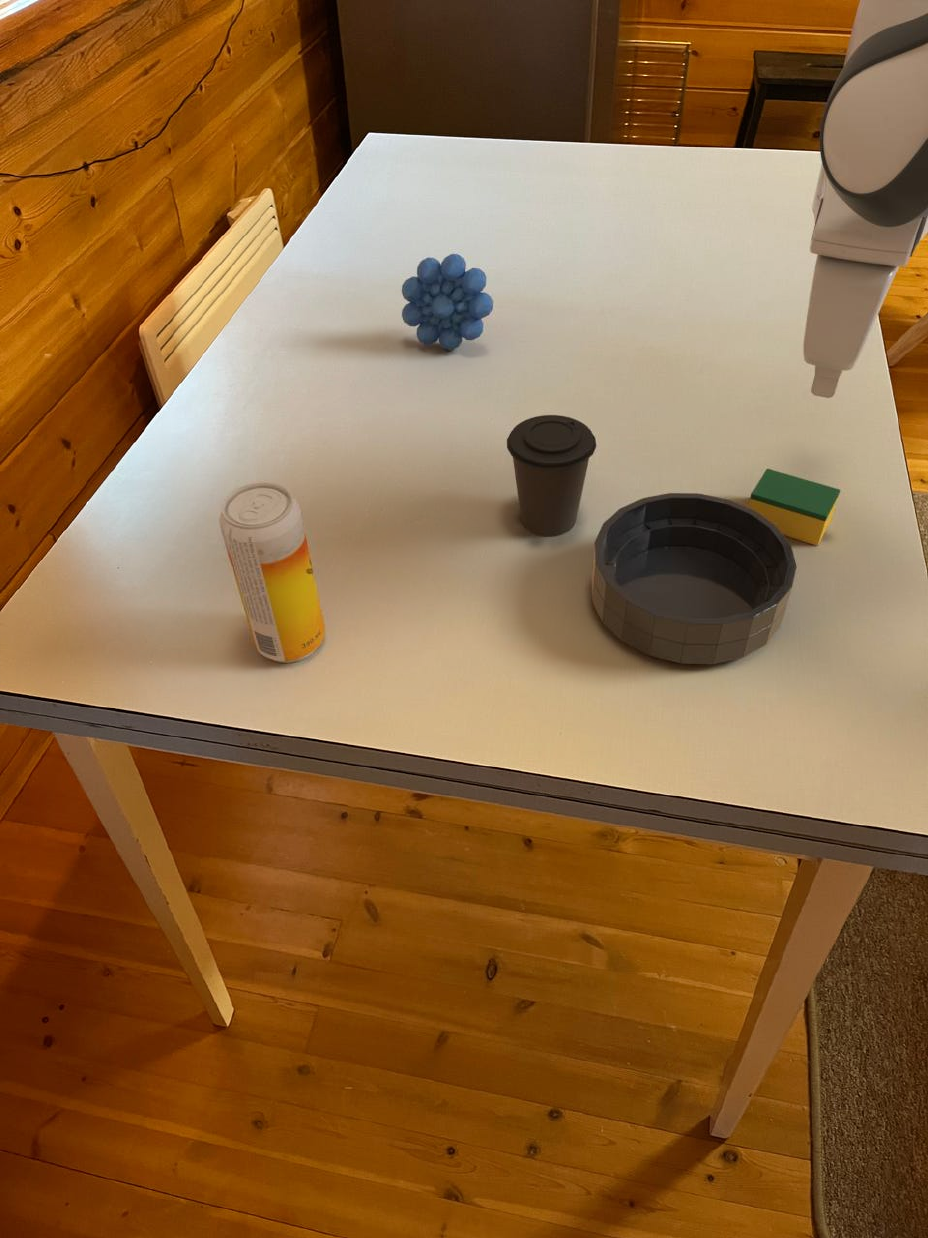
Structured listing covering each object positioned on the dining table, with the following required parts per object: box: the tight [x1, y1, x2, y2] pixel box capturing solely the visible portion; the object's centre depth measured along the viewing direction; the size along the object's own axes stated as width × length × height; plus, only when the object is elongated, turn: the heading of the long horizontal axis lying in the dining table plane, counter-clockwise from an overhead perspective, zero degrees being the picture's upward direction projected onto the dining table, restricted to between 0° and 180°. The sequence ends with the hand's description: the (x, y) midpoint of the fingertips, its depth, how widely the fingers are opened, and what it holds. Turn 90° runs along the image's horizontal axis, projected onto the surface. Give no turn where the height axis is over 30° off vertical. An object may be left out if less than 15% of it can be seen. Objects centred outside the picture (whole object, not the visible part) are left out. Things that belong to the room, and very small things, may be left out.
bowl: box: [591, 492, 798, 665], centre depth 79 cm, size 16×16×6 cm
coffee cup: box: [506, 414, 597, 537], centre depth 86 cm, size 8×8×10 cm
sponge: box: [747, 468, 841, 546], centre depth 87 cm, size 7×4×4 cm, turn 59°
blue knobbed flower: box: [401, 253, 494, 351], centre depth 110 cm, size 12×7×12 cm, turn 70°
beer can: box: [218, 481, 326, 664], centre depth 74 cm, size 6×6×15 cm
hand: (833, 363), depth 76 cm, fingers open, 8 cm apart
